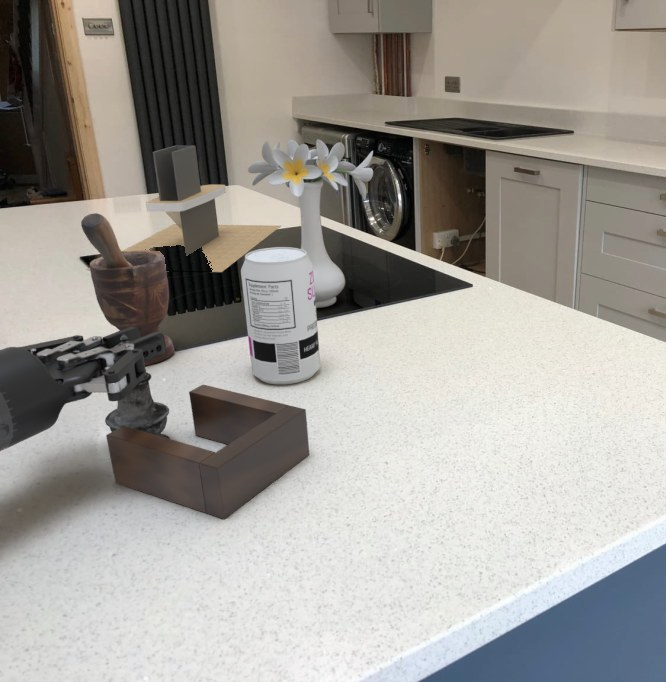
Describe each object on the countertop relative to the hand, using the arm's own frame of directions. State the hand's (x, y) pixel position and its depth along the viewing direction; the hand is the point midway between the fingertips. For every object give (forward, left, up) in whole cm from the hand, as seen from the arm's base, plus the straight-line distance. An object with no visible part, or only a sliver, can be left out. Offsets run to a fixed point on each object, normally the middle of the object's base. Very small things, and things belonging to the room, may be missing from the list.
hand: (149, 339), depth 72 cm
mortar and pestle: (-17, +13, -11) cm, 24 cm away
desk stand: (+9, -3, -10) cm, 14 cm away
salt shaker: (0, -3, -11) cm, 11 cm away
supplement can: (+2, +18, -11) cm, 21 cm away
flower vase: (-11, +43, -11) cm, 46 cm away
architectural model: (-56, +62, -11) cm, 85 cm away
